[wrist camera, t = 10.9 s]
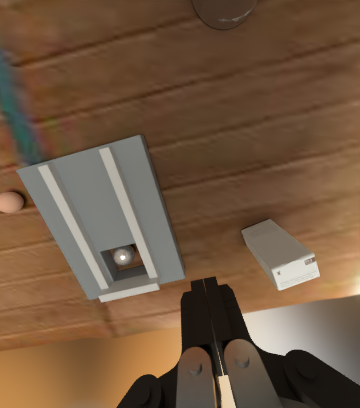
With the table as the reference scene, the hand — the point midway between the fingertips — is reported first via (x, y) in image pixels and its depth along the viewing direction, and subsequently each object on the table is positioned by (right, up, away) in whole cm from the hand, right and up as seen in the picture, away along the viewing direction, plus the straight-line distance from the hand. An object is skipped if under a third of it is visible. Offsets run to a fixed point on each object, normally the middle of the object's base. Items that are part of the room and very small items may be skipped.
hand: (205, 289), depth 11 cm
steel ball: (-12, -4, +24) cm, 27 cm away
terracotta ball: (-30, +5, +20) cm, 37 cm away
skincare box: (+14, 0, +25) cm, 29 cm away
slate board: (-14, +1, +24) cm, 28 cm away
